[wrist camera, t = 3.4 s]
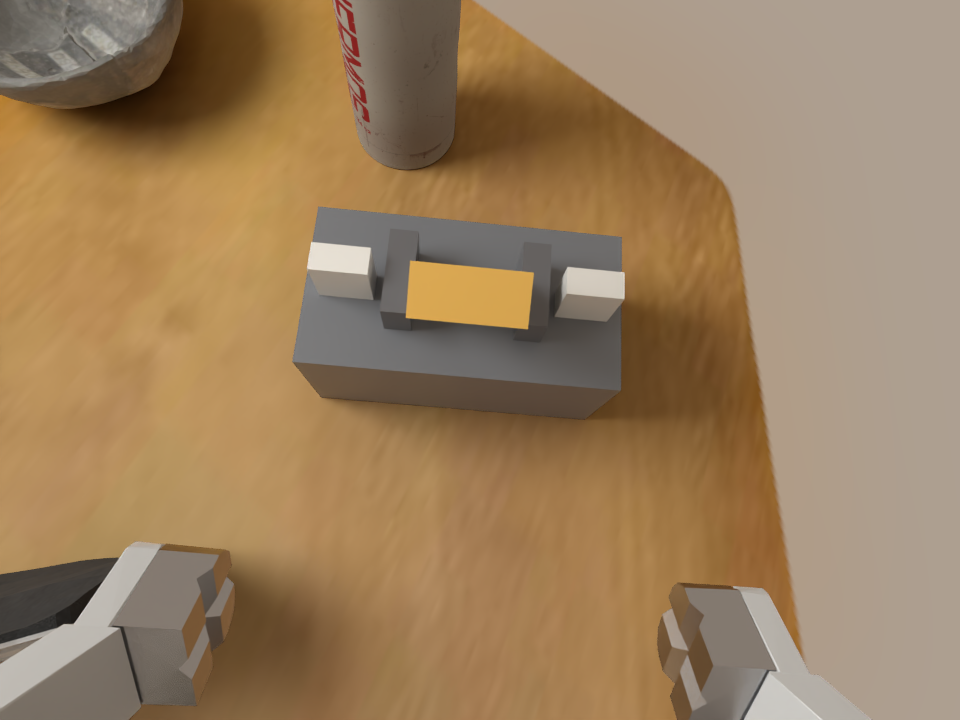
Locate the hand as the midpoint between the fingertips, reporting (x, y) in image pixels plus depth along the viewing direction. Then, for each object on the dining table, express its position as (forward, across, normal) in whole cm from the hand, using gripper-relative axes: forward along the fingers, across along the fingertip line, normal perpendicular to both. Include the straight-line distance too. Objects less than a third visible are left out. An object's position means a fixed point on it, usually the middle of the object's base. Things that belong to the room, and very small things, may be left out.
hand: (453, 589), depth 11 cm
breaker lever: (+26, 0, -5) cm, 26 cm away
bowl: (+48, -32, +3) cm, 58 cm away
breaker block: (+33, 0, -12) cm, 35 cm away
